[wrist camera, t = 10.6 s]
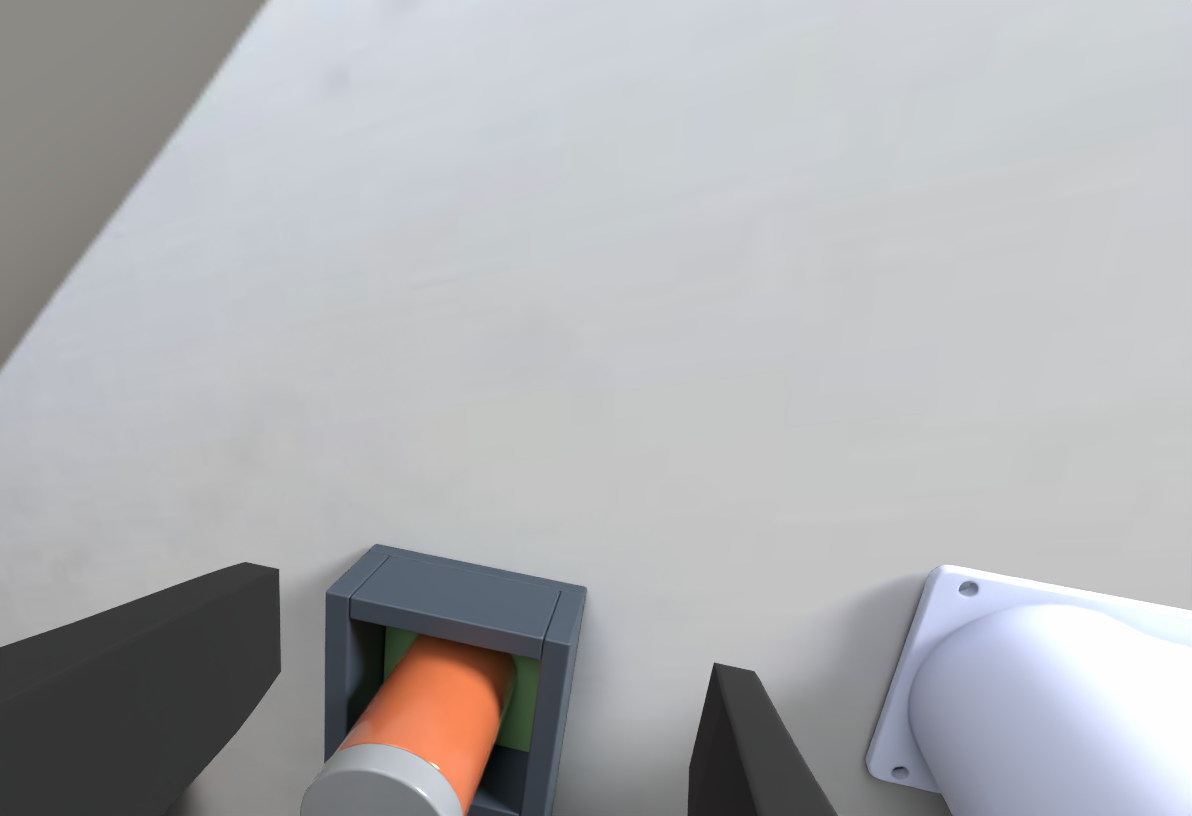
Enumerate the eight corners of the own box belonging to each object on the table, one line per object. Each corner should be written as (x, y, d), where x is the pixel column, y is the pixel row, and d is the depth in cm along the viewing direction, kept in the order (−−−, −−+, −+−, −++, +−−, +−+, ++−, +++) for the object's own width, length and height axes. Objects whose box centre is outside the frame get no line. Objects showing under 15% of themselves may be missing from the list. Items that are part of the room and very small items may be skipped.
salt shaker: (524, 631, 19) (458, 791, 13) (512, 728, 20) (447, 913, 15) (409, 606, 20) (297, 751, 14) (404, 702, 21) (298, 873, 15)
